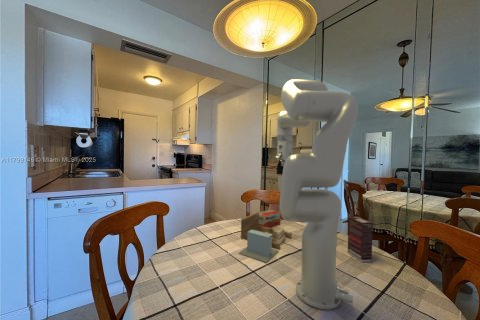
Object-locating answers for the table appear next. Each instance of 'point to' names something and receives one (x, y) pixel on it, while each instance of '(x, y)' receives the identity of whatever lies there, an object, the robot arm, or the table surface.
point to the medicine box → (269, 218)
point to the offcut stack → (278, 235)
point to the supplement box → (360, 238)
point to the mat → (258, 255)
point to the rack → (258, 228)
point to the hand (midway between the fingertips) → (283, 173)
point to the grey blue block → (259, 242)
